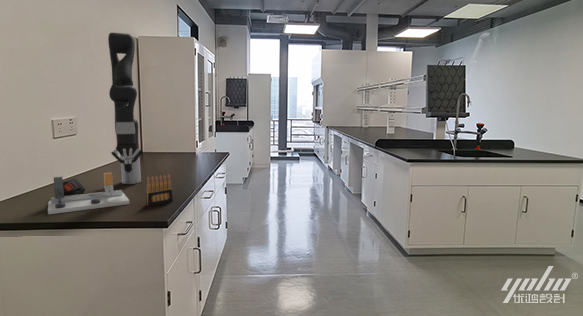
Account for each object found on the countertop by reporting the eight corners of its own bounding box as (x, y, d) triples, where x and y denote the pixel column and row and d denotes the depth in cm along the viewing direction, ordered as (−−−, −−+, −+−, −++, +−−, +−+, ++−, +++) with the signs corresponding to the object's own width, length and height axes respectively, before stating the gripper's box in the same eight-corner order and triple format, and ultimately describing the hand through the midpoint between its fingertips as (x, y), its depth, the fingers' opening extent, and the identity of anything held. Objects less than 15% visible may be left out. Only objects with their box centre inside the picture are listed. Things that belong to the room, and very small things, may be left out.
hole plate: (48, 204, 150) (48, 198, 150) (123, 195, 165) (123, 190, 164) (48, 214, 137) (47, 207, 136) (129, 203, 151) (129, 197, 151)
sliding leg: (104, 191, 159) (103, 172, 157) (112, 190, 160) (111, 172, 159) (107, 197, 149) (106, 177, 148) (116, 196, 151) (114, 176, 150)
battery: (61, 202, 160) (73, 193, 159) (50, 187, 160) (62, 178, 159) (79, 198, 171) (90, 189, 171) (69, 184, 172) (80, 175, 171)
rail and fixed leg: (51, 202, 148) (49, 177, 147) (121, 193, 162) (120, 171, 161) (51, 208, 139) (48, 182, 138) (125, 199, 153) (124, 175, 151)
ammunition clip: (148, 205, 149) (146, 176, 147) (146, 205, 150) (144, 176, 148) (172, 201, 156) (171, 173, 155) (170, 200, 158) (169, 172, 156)
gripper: (140, 131, 165) (142, 169, 167) (107, 132, 158) (110, 172, 160) (143, 132, 159) (146, 172, 161) (109, 133, 152) (112, 175, 154)
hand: (128, 172), depth 161 cm, fingers closed
